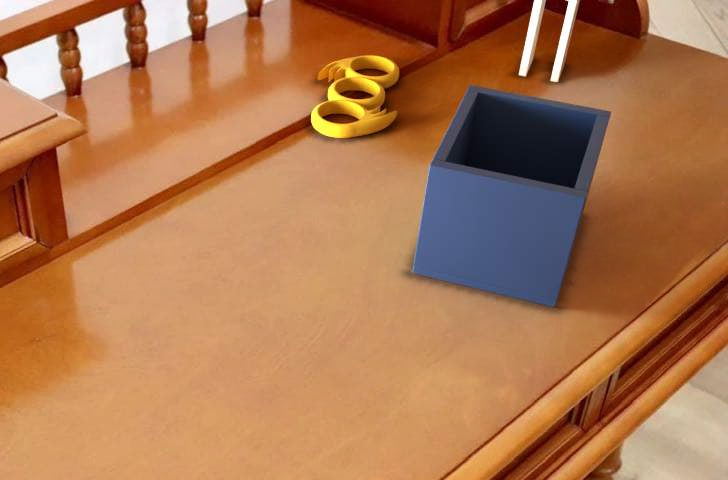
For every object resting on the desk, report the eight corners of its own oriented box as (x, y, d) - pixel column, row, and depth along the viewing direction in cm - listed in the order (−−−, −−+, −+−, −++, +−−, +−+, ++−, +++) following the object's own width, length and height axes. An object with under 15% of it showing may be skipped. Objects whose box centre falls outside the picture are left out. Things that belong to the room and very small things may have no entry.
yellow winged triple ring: (423, 75, 119) (335, 58, 122) (425, 61, 118) (336, 45, 121) (378, 150, 108) (283, 129, 111) (380, 136, 107) (284, 116, 110)
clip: (525, 59, 122) (544, -29, 115) (563, 66, 120) (585, -23, 114) (518, 75, 119) (537, -14, 112) (557, 82, 118) (579, -8, 111)
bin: (450, 189, 103) (469, 84, 96) (581, 217, 99) (611, 111, 92) (412, 273, 93) (429, 164, 86) (555, 308, 90) (586, 197, 83)
